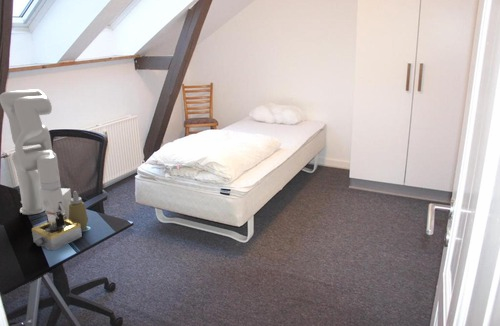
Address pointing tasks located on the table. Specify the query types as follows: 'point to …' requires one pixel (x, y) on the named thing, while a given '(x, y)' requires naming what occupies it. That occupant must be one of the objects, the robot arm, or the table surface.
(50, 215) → the spout can
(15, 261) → the table surface
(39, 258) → the table surface
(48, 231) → the box
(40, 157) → the robot arm
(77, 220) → the squeeze bottle
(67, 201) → the skincare box
